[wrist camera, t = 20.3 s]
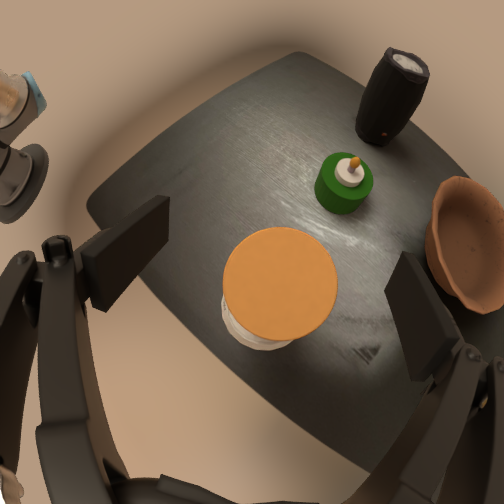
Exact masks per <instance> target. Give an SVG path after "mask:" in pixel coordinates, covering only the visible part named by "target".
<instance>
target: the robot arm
mask: <svg viewBox="0 0 504 504" xmlns="http://www.w3.org/2000/svg"><path fill="white" fill-rule="evenodd" d="M46 106H47V103H46V100H45V99H44V97H43V95H42V93H41V91H40V90H39V88H38V86H37V84H36V82H35V80H34V78H33V76H32V75H31V73H30V72H29V71H28V72H26V73H24V74H22V75H21V76H20V75H10V76H8V75H7V74H6V73H4V72H3V71H2V70H1V69H0V205H2V206H3V207H8V206H10V205H12V204H13V203H15V202H16V201H17V200H18V199H19V197H20V196H21V195H22V194H23V192H24V191H25V189H26V187H27V185H28V183H29V181H30V179H31V176H32V173H33V169H34V160H33V158H32V157H31V156H30V155H29V154H28V153H26V152H23V151H20V150H17V149H14V148H11V147H10V146H9V145H10V144H11V143H12V142H13V140H15V139H16V137H17V136H18V135H19V134H20V133H21V132H22V131H23V130H24V129H25V128H26V127H27V126H28V125H29V124H30V123H31V122H32V121H33V120H35V119H36V118H38V116H39V115H40V114H41V113H42V112H43V111H44V110H45V108H46ZM169 203H170V197H167V196H161V195H157V196H155V197H154V198H152V199H151V200H149V201H148V202H146V203H145V204H143V205H142V206H141V207H139V208H138V209H136V210H135V211H133V212H132V213H131V214H129V215H128V216H126V217H125V218H124V219H122V220H121V221H120V222H118V223H117V224H116V225H114V226H113V227H112V228H107V229H104V230H102V231H99V232H98V233H97V234H95V235H94V236H93V237H92V238H90V239H89V240H88V241H87V242H85V243H84V244H83V245H82V246H80V247H79V248H77V249H76V250H75V251H74V252H73V250H72V244H71V239H70V237H68V236H65V235H57V236H53V237H50V238H48V239H47V240H45V241H44V242H43V244H42V250H43V254H44V258H45V262H37V261H36V257H35V254H34V252H32V251H21V252H19V253H18V254H16V255H14V257H13V258H12V259H11V260H10V262H9V263H8V265H7V267H6V268H5V270H4V271H3V273H2V275H1V276H0V504H21V502H20V498H21V497H23V495H24V490H23V487H22V485H21V484H20V483H19V482H18V480H17V478H16V476H15V475H16V471H17V466H18V460H19V451H20V440H21V428H22V418H23V411H24V404H25V397H26V391H27V386H28V381H29V376H30V371H31V366H32V363H33V358H34V354H35V351H36V347H37V343H38V384H39V398H40V408H41V416H42V422H41V425H39V426H37V427H36V431H35V435H36V444H37V449H38V454H39V459H40V464H41V468H42V472H43V476H44V480H45V484H46V487H47V491H48V494H49V497H50V500H51V503H52V504H238V503H235V502H232V501H230V500H227V499H225V498H223V497H221V496H219V495H217V494H214V493H212V492H210V491H208V490H206V489H204V488H202V487H200V486H198V485H194V484H191V483H187V482H184V481H181V480H178V479H174V478H172V477H168V476H166V475H163V474H161V475H160V478H159V479H158V478H132V479H130V477H129V474H128V472H127V470H126V468H125V465H124V463H123V461H122V459H121V457H120V456H119V454H118V452H117V449H116V447H115V444H114V441H113V438H112V435H111V432H110V428H109V425H108V422H107V418H106V415H105V411H104V407H103V403H102V399H101V395H100V391H99V386H98V382H97V377H96V372H95V367H94V362H93V356H92V350H91V343H90V336H89V328H88V320H87V310H86V305H85V301H86V300H87V299H88V298H89V297H90V300H91V304H92V307H93V308H96V309H98V310H100V311H103V312H105V313H106V312H107V311H108V310H109V308H110V307H111V306H112V305H113V303H114V302H115V301H116V300H117V299H118V298H119V296H120V295H121V294H122V293H123V292H124V291H125V289H126V288H127V287H128V286H129V285H130V283H131V282H132V281H133V280H134V279H135V278H136V277H137V275H138V274H139V273H140V272H141V271H142V270H143V269H144V267H145V266H146V265H147V264H148V263H149V262H150V261H151V260H152V258H153V257H154V256H155V255H156V254H157V253H158V252H159V251H160V250H161V248H162V247H163V246H164V245H165V244H166V243H167V242H168V236H169ZM384 292H385V294H386V297H387V300H388V303H389V306H390V309H391V312H392V315H393V318H394V321H395V324H396V328H397V331H398V334H399V338H400V341H401V344H402V348H403V352H404V355H405V359H406V363H407V366H408V370H409V374H410V379H411V381H420V382H424V381H425V380H426V379H427V378H428V377H429V376H430V375H431V373H432V374H433V378H434V380H433V381H432V382H431V383H430V384H429V385H428V386H427V387H426V388H425V389H424V390H423V391H422V392H421V393H420V395H423V394H424V395H423V397H422V399H421V401H420V403H419V404H418V406H417V408H416V410H415V411H414V413H413V415H412V416H411V418H410V420H409V421H408V423H407V424H406V426H405V428H404V429H403V431H402V432H401V434H400V435H399V437H398V438H397V440H396V441H395V443H394V444H393V445H392V447H391V448H390V450H389V451H388V452H387V454H386V455H385V456H384V458H383V459H382V460H381V462H380V463H379V464H378V466H377V467H376V468H375V469H374V471H373V472H372V473H371V474H370V476H369V477H368V478H367V479H366V480H365V482H364V483H363V484H362V485H361V486H360V487H359V488H358V489H357V491H356V492H355V493H354V494H353V495H352V496H351V497H350V498H349V499H347V500H346V501H345V502H343V503H342V504H434V503H433V502H432V501H431V497H432V495H433V493H434V491H435V489H436V488H437V486H438V484H439V482H440V480H441V478H442V476H443V474H444V472H445V470H446V468H447V470H446V474H445V478H444V481H443V484H442V488H441V491H440V494H439V497H438V500H437V503H436V504H504V359H503V358H501V357H499V356H496V357H495V358H494V359H493V360H492V361H491V362H490V363H487V362H485V361H482V356H481V353H480V352H479V351H478V349H477V348H476V347H475V346H473V345H471V344H468V343H465V341H464V339H463V337H462V335H461V333H460V331H459V329H458V327H457V326H456V323H455V321H454V320H453V317H452V315H451V313H450V311H449V310H448V309H447V308H446V306H445V305H444V304H443V303H442V301H441V300H440V298H439V296H438V294H437V292H436V291H435V289H434V287H433V285H432V284H431V282H430V280H429V278H428V277H427V275H426V273H425V272H424V270H423V268H422V267H421V265H420V264H419V262H418V260H417V259H416V257H415V256H414V254H412V253H408V252H405V251H402V254H401V256H400V258H399V260H398V263H397V265H396V267H395V269H394V271H393V273H392V275H391V278H390V280H389V282H388V284H387V286H386V288H385V290H384ZM485 400H487V402H486V404H485V406H484V407H483V408H482V403H483V402H484V401H485ZM256 504H319V503H306V502H288V501H277V502H267V503H256Z"/></svg>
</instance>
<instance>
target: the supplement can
mask: <svg viewBox="0 0 504 504" xmlns="http://www.w3.org/2000/svg"><path fill="white" fill-rule="evenodd" d="M221 306H222V317H223V320H224V322H225V324H226V327H227V329H228V331H229V333H230V334H232V335H233V336H234V337H235V338H236V339H237V340H238V341H239V342H240V343H241V344H243V345H246V346H248V347H250V348H253V349H255V350H274V349H277V348H280V347H284V346H286V345H287V344H289V343H290V342H291V341H293V340H290V341H271V340H266V339H263V338H260V337H258V336H255V335H253V334H252V333H250V332H248V331H247V330H246V329H244V328H243V327H242V326H241V325H240V324H239V323H238V322H237V321H236V320H235V318H234V317H233V316H232V314H231V313H230V311H229V309H228V307H227V304H226V301H225V298H224V295H223V299H222V302H221Z"/></svg>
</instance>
